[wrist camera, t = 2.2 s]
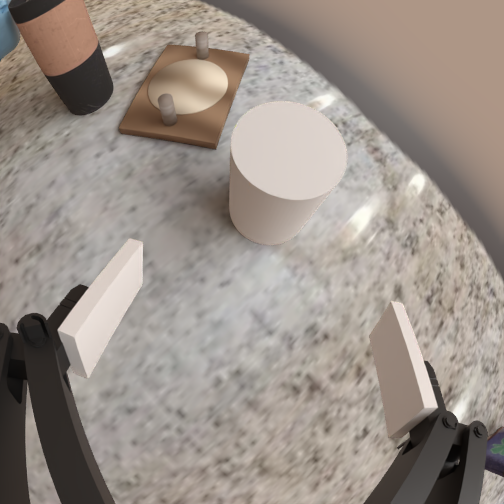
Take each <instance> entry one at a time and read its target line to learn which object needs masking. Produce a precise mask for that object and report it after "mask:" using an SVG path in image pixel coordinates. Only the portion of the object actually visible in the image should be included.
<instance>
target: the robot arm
mask: <svg viewBox="0 0 504 504" xmlns="http://www.w3.org/2000/svg"><path fill="white" fill-rule="evenodd" d="M10 1H11V0H0V61H1V59H2V58H4V57H5V56H6V55H7V54H9V53H10V52H11V51H12V50H14V49H15V47H16V46H17V45H18V43H19V40H20V31H19V29H18V27H17V25H16V23H15V21H14V19H13V17H12V15H11V13H10V11H9V9H8V5H9V3H10ZM142 285H143V242H142V241H138V240H134V239H130V238H129V240H128V241H127V242H126V243H125V244H124V245H123V247H122V248H121V249H120V250H119V251H118V252H117V254H116V255H115V256H114V257H113V258H112V260H111V261H110V262H109V263H108V264H107V266H106V267H105V268H104V269H103V271H102V272H101V273H100V274H99V275H98V277H97V278H96V279H95V281H94V282H93V283H92V284H91V286H90V287H87V286H84V285H81V284H80V285H78V286H76V287H75V288H73V289H71V290H70V292H69V293H68V294H67V295H66V297H65V299H63V300H62V302H61V303H60V305H58V307H57V308H56V309H55V310H54V312H53V313H52V314H51V316H50V317H49V318H48V320H47V321H46V318H45V317H44V316H43V315H41V314H38V313H30V314H28V315H25V316H24V317H22V318H21V319H20V321H19V322H18V325H17V330H18V333H19V334H18V333H11V332H10V331H9V329H8V327H7V326H6V325H5V324H3V323H0V504H30V499H29V491H28V482H27V470H26V450H25V415H26V395H27V383H28V386H29V392H30V398H31V403H32V408H33V413H34V417H35V422H36V426H37V430H38V434H39V438H40V442H41V446H42V449H43V452H44V456H45V459H46V462H47V465H48V469H49V472H50V474H51V477H52V480H53V483H54V486H55V488H56V491H57V494H58V496H59V499H60V501H61V503H62V504H115V502H114V500H113V498H112V496H111V494H110V492H109V490H108V487H107V485H106V483H105V481H104V479H103V477H102V474H101V472H100V470H99V468H98V465H97V463H96V460H95V458H94V455H93V453H92V450H91V448H90V445H89V443H88V440H87V437H86V434H85V431H84V429H83V426H82V423H81V420H80V417H79V414H78V410H77V407H76V404H75V400H74V397H73V393H72V390H71V386H70V382H69V378H68V375H67V370H68V368H69V366H71V368H72V371H73V373H75V374H77V375H80V376H82V377H84V378H87V379H89V377H90V375H91V373H92V371H93V369H94V368H95V366H96V364H97V362H98V360H99V358H100V356H101V355H102V353H103V351H104V349H105V347H106V346H107V344H108V342H109V340H110V339H111V337H112V335H113V333H114V331H115V330H116V328H117V326H118V325H119V323H120V321H121V319H122V318H123V316H124V314H125V313H126V311H127V309H128V308H129V306H130V304H131V303H132V301H133V299H134V298H135V296H136V294H137V293H138V291H139V289H140V288H141V286H142ZM369 338H370V342H371V347H372V351H373V356H374V360H375V365H376V370H377V375H378V380H379V385H380V390H381V396H382V401H383V407H384V413H385V419H386V425H387V432H388V438H402V437H403V436H404V435H406V434H407V433H408V432H409V433H410V438H409V439H407V440H406V441H405V442H403V443H402V444H401V445H399V446H398V447H397V448H398V449H399V448H401V447H402V446H403V447H402V449H401V450H400V452H399V454H398V455H397V457H396V458H395V460H394V462H393V463H392V465H391V466H390V468H389V469H388V471H387V472H386V474H385V475H384V476H383V478H382V479H381V481H380V482H379V484H378V485H377V486H376V488H375V489H374V490H373V492H372V493H371V494H370V496H369V497H368V498H367V500H366V501H365V502H364V504H479V501H480V496H481V490H482V484H483V477H484V470H485V461H486V450H487V430H486V427H485V426H484V424H483V423H481V422H480V421H473V422H472V423H471V424H470V425H468V426H467V425H464V424H461V423H458V420H457V418H456V416H455V415H454V414H453V413H451V412H450V411H447V410H446V407H445V404H444V400H443V397H442V394H441V391H440V387H439V386H438V385H439V384H438V381H437V380H436V375H435V372H434V369H433V368H432V366H431V365H430V363H429V362H428V361H424V360H423V357H422V354H421V351H420V349H419V346H418V343H417V340H416V337H415V335H414V332H413V329H412V327H411V324H410V321H409V319H408V316H407V314H406V311H405V309H404V306H403V304H402V303H398V302H393V301H391V302H390V304H389V305H388V307H387V309H386V310H385V312H384V314H383V315H382V317H381V318H380V320H379V322H378V323H377V325H376V326H375V328H374V329H373V331H372V332H371V334H370V335H369ZM459 459H460V461H459V464H458V460H459Z"/></svg>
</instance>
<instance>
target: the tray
mask: <svg viewBox="0 0 504 504" xmlns="http://www.w3.org/2000/svg"><path fill="white" fill-rule="evenodd" d="M195 39H196V47H192V46H181V45H167V47H166V48H165V50H164V51H163V53H162V54H161V56H160V57H159V59H158V60H157V62H156V63H155V65H154V67H153V68H152V70H151V71H150V73H149V75H148V76H147V78H146V80H145V81H144V83H143V85H142V86H141V88H140V90H139V91H138V93H137V95H136V97H135V98H134V100H133V102H132V104H131V106H130V107H129V109H128V111H127V113H126V115H125V117H124V119H123V121H122V123H121V125H120V126H119V130H120V132H121V134H128V135H135V136H142V137H149V138H155V139H162V140H168V141H174V142H180V143H185V144H191V145H196V146H201V147H207V148H212V149H216V148H217V145H218V142H219V139H220V136H221V133H222V130H223V128H224V125H225V122H226V119H227V116H228V114H229V111H230V108H231V105H232V103H233V100H234V97H235V95H236V92H237V89H238V87H239V84H240V82H241V79H242V76H243V74H244V71H245V69H246V66H247V64H248V61H249V54H244V53H238V52H232V51H225V50H218V49H211V48H208V33H207V32H198V33H196V35H195Z"/></svg>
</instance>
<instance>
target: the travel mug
mask: <svg viewBox="0 0 504 504" xmlns="http://www.w3.org/2000/svg"><path fill="white" fill-rule="evenodd" d="M8 9H9V11H10V13H11V15H12V17H13V19H14V21H15V23H16V25H17V27H18V29H19V31H20V33H21V34H22V36H23V38H24V40H25V42H26V44H27V45H28V47H29V49H30V51H31V53H32V54H33V56H34V58H35V60H36V61H37V63H38V65H39V67H40V68H41V70H42V72H43V73H44V75H45V76H46V78H47V79H48V81H49V82H50V84H51V85H52V87H53V88H54V89H55V91H56V92H57V94H58V95H59V97H60V98H61V99H62V101H63V102H64V104H65V105H66V106H67V108H68V109H69V110H70V111H71V112H72V113H73V114H76V115H85V114H89V113H92V112H94V111H96V110H97V109H99V108H100V107H102V106H103V105H104V104H105V103H106V102H107V101H108V100H109V98H110V97H111V95H112V93H113V82H112V79H111V76H110V73H109V71H108V68H107V65H106V62H105V59H104V56H103V53H102V50H101V47H100V44H99V41H98V38H97V36H96V33H95V30H94V28H93V25H92V22H91V20H90V17H89V14H88V12H87V9H86V6H85V3H84V1H83V0H11V1H10V3H9V5H8Z"/></svg>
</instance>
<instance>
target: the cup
mask: <svg viewBox="0 0 504 504" xmlns="http://www.w3.org/2000/svg"><path fill="white" fill-rule="evenodd" d="M346 166H347V149H346V145H345V142H344V140H343V137H342V135H341V134H340V132H339V130H338V129H337V128H336V126H335V125H334V124H333V123H332V122H331V121H330V120H329V119H328V118H327V117H326V116H324V115H323V114H321V113H320V112H318V111H317V110H315V109H313V108H311V107H308V106H306V105H303V104H300V103H295V102H289V101H274V102H268V103H264V104H261V105H258V106H256V107H254V108H252V109H251V110H249V111H248V112H246V113H245V114H244V115H243V116H242V117H241V118H240V119H239V121H238V122H237V124H236V125H235V127H234V130H233V132H232V136H231V152H230V188H229V212H230V217H231V220H232V222H233V224H234V226H235V227H236V229H237V230H238V231H239V232H240V233H241V234H242V235H243V236H244V237H246V238H247V239H249V240H251V241H253V242H255V243H258V244H263V245H277V244H281V243H284V242H287V241H289V240H290V239H292V238H293V237H295V236H296V235H297V234H298V233H299V231H300V230H301V229H302V228H303V227H304V225H305V224H306V223H307V222H308V220H309V219H310V218H311V217H312V215H313V214H314V213H315V212H316V210H317V209H318V208H319V207H320V205H321V204H322V203H323V202H324V200H325V199H326V198H327V196H328V195H329V194H330V193H331V191H332V190H333V189H334V188H335V186H336V185H337V184H338V183H339V181H340V180H341V178H342V177H343V175H344V172H345V169H346Z"/></svg>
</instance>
